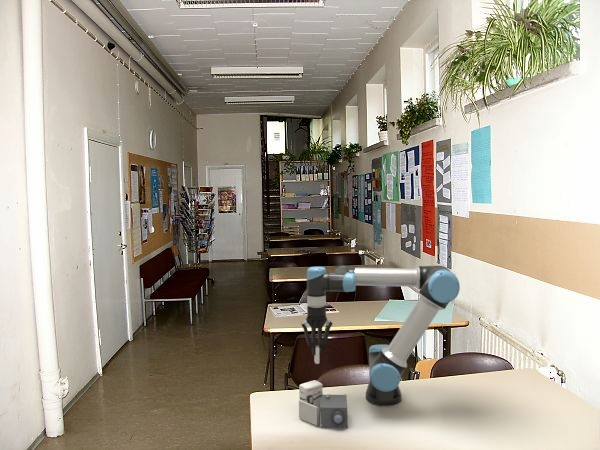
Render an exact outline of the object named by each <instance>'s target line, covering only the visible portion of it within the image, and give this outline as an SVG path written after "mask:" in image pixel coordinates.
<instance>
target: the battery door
mask: <svg viewBox="0 0 600 450" xmlns="http://www.w3.org/2000/svg"><path fill="white" fill-rule="evenodd" d="M298 418H299V419H301V420H304V421H306V422H308V423H310V424H313V425H314V426H317V427H321V414H320V408H319V407H316V406H314V405H311V404H309V403H307V402H304V401H302V400H300V399H299V400H298Z"/></svg>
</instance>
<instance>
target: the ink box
mask: <svg viewBox="0 0 600 450" xmlns="http://www.w3.org/2000/svg"><path fill="white" fill-rule="evenodd" d="M298 388H299V390H298V391H299V400H302V401H304V402H307V403H309V404H311V405H314V406H316V407H319V408H320V407H321V396H322V395H324V394H323V392H324V391H323V390H324V389H323V383H321V382H320V381H318V380H315V379H314V380H310V381H307V382H304V383H301V384H299V387H298Z"/></svg>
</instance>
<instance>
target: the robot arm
mask: <svg viewBox="0 0 600 450" xmlns="http://www.w3.org/2000/svg"><path fill="white" fill-rule="evenodd" d="M356 286H360V287H361V286H365V287H366V286H371V287H372V286H373V287H409V288H410V287H411V288H412V287H415V288H416V289H417V290H419V291H418V296H419V298H418V300H417V302H416V304H415V305H414V306H413V308H412V309H411V311H410V312H409V314H408V315H407V318H406V319H405V320H404V322H403V323H402V325H401V326H400V328H399V329H398V331H397V333H396V334H395V335H394V337H393V338H392V340H391V342H390V343H389V344H374V345H371V346H370V347H369V349H368V354H369V355H368V358H369V360H368V361H369V362H368V363H369V375H368V376H369V382H368V383H367V388H366V391H365V399H366V401H367V402H369V404H372V405H375V406H382V407H383V406H385V407H387V406H388V407H389V406H394V405H398V404H400V403H401V402H402V392H401V389H400V386H399V385H400V384H401V383H400V382H401V379H402V378H401V376H402V375H403V373H404V372H405V370H406V369H407V367H408V363H407V360H408V358H409V357H410V356H411V354H412V352H413V351H414V349H415V348H416V346H417V345H418V343H419V341H420V340H421V339H422V337H423V336H424V334H425V333H426V332H427V329H428V328H429V326H430V325H431V323H432V322H433V320H434V319H435V317H436V315H437V314H438V313H439V311H441V310H445V309H446V308H447V306H448V305H449V303H451V302H452V301H454V300H455V299H456V298H457V297H458V295H459V293H460V290H461V287H460V286H461V285H460V281H459V279H458V277H457V276H456V274H455V273H454V272H452V271H451V270H450V269H449V267H446V266H443V265H418V266H416V267H415V268H401V267H400V268H398V267H395V268H394V267H348V266H345V265H341V266H339V267H337V268H336V269H335V270H334V272H327V270H326V267H324V266H311V267H308V269H307V273H306V295H307V296H306V298H307V299H306V303H307V306H306V307H307V308H306V311H307V312H306V313H307V315H306V316H307V317H306V318H305V320H304V322H300V326H301V327H302V328H303V333H304V336H305V341H306V344H307V345H308V347H309V348H310V347H311V354H312V356H313V357H314V358H313V359H314V360H313V361H314V363H315V365H318V364H320V356H322V353H323V352H322V351H323V346H327V344H328V338H329V333H330V331H331V327H332V326H333V322H332V321H331V320H329V319H328V317H327V307H326V305H327V303H326V302H327V300H326V299H327V296H326V295H327V292H341V293H342V292H343V293H344V292H345V293H350V292H355V291H356ZM308 325H309V326H310V328H311V337H310V335H309V331H308ZM324 326H325V328H324V332H323V327H324ZM316 331H317V334H316ZM316 337H317V339H316ZM316 341H317V343H316ZM316 344H317V345H316Z"/></svg>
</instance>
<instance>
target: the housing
mask: <svg viewBox="0 0 600 450" xmlns="http://www.w3.org/2000/svg"><path fill="white" fill-rule="evenodd" d="M347 398H348V397H347V394H323V395H322V396H321V407H320V427H321V429H348V427H349V426H348V424H349V423H348V399H347Z"/></svg>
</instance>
